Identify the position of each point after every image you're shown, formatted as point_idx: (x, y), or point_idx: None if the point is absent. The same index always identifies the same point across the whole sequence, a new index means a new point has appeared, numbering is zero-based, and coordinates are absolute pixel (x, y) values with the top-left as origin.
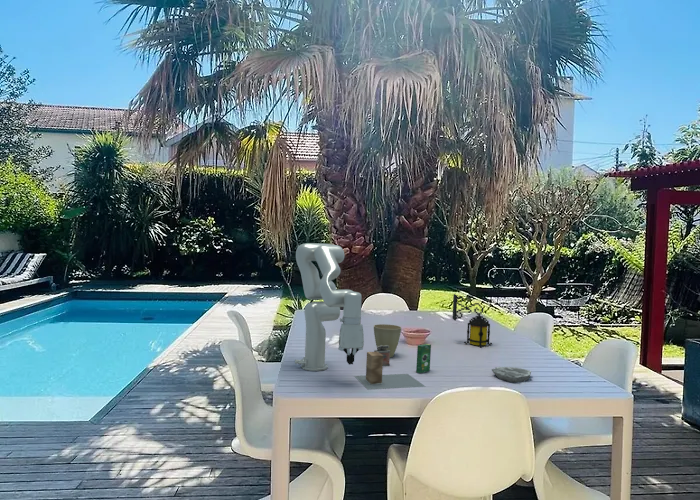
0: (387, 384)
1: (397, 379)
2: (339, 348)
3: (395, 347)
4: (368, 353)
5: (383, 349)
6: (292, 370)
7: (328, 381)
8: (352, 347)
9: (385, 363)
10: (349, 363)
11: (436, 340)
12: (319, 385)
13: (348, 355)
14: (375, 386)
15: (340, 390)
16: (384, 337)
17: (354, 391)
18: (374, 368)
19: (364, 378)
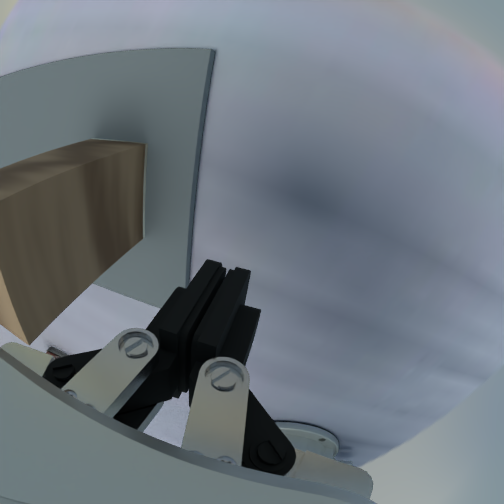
0: (74, 123)
1: None
2: (367, 495)
3: None
4: (16, 309)
5: None
6: (377, 443)
7: (349, 315)
8: (111, 438)
9: (54, 356)
10: (247, 276)
11: None
12: (434, 275)
13: (230, 363)
14: (139, 97)
15: (382, 133)
16: None
17: (301, 75)
18: (59, 164)
19: (145, 260)
